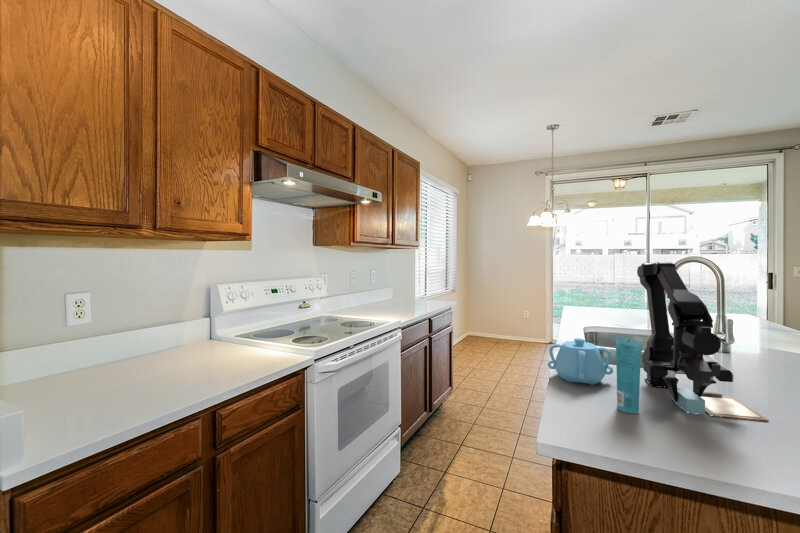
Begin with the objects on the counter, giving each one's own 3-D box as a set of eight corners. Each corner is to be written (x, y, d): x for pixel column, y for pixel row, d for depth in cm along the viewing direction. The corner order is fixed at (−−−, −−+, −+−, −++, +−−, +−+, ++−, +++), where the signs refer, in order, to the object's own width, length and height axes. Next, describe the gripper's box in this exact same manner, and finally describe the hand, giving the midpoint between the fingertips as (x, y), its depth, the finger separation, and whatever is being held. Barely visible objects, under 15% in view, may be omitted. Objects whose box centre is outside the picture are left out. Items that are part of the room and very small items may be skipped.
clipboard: (710, 416, 93) (710, 410, 93) (682, 394, 107) (682, 389, 107) (768, 421, 90) (769, 416, 90) (732, 398, 104) (732, 393, 104)
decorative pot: (619, 385, 116) (620, 342, 115) (578, 390, 111) (578, 346, 111) (580, 369, 131) (580, 332, 131) (542, 374, 127) (543, 335, 126)
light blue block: (704, 415, 94) (705, 400, 94) (686, 414, 95) (686, 399, 95) (685, 400, 103) (686, 386, 103) (669, 399, 104) (669, 385, 104)
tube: (647, 413, 95) (648, 340, 94) (637, 417, 93) (638, 342, 92) (618, 403, 101) (619, 334, 101) (608, 407, 99) (608, 337, 98)
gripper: (659, 350, 94) (658, 410, 94) (747, 355, 89) (746, 418, 89) (643, 340, 104) (642, 394, 105) (721, 344, 99) (720, 401, 100)
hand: (685, 402), depth 99 cm, fingers open, 4 cm apart
